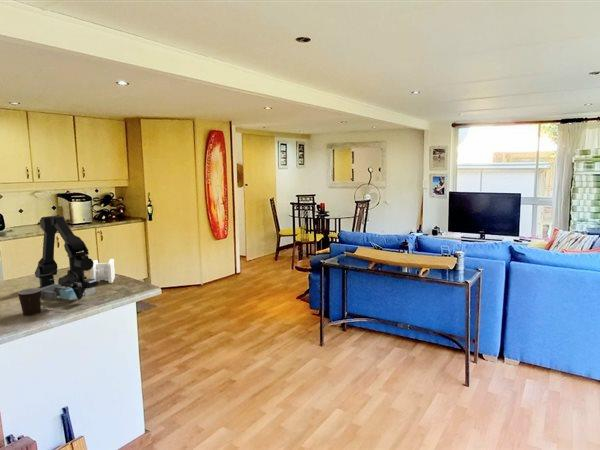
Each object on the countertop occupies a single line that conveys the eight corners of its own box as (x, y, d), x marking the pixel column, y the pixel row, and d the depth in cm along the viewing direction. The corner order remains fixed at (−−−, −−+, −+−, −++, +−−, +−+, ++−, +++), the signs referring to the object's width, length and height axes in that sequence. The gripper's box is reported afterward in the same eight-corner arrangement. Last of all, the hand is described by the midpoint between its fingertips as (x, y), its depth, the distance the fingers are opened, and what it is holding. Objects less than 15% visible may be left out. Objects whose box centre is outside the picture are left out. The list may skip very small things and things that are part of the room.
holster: (72, 295, 205) (71, 289, 205) (82, 291, 211) (81, 286, 210) (85, 297, 202) (85, 291, 202) (95, 293, 208) (95, 287, 207)
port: (36, 300, 198) (34, 288, 198) (58, 292, 210) (57, 281, 209) (52, 302, 195) (51, 291, 194) (74, 294, 206) (73, 284, 205)
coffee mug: (27, 309, 186) (24, 288, 184) (47, 309, 187) (45, 287, 185) (11, 320, 174) (8, 296, 173) (33, 319, 175) (31, 296, 174)
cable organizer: (112, 285, 221) (110, 264, 219) (89, 287, 218) (88, 265, 216) (115, 277, 235) (114, 257, 233) (94, 279, 232) (93, 258, 230)
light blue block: (60, 300, 199) (59, 288, 198) (67, 297, 202) (66, 286, 201) (69, 301, 197) (68, 289, 196) (76, 299, 200) (75, 287, 199)
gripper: (46, 269, 190) (49, 302, 193) (77, 273, 184) (80, 307, 186) (67, 263, 200) (70, 295, 203) (97, 267, 194) (100, 299, 196)
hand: (79, 299), depth 197 cm, fingers closed
